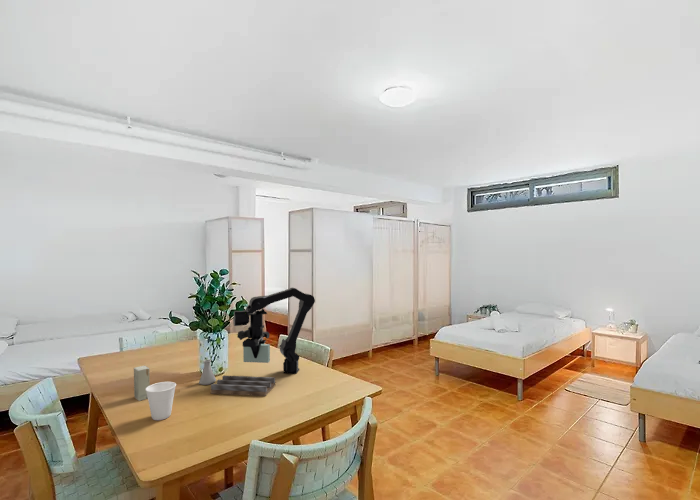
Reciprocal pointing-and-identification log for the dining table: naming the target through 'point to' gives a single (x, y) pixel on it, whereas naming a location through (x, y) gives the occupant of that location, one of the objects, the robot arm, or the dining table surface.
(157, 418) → the cup
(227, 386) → the track base
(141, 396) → the skincare box
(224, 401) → the dining table surface
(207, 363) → the flask
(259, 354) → the door panel
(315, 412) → the dining table surface
